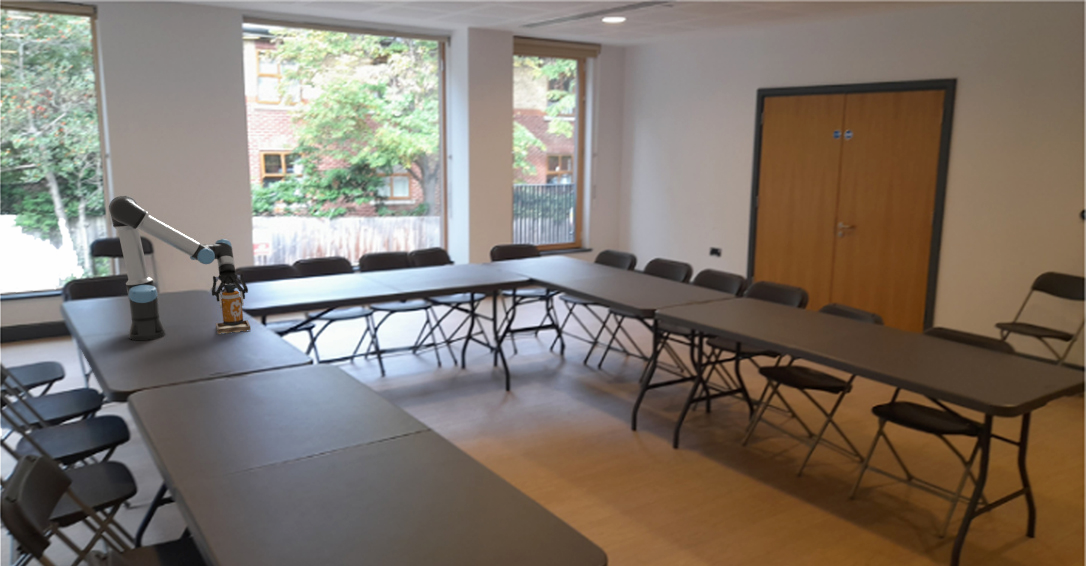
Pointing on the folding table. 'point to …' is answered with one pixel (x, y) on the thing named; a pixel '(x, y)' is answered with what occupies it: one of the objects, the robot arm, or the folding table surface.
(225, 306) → the canister
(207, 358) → the folding table surface
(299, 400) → the folding table surface
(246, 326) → the wooden tray
